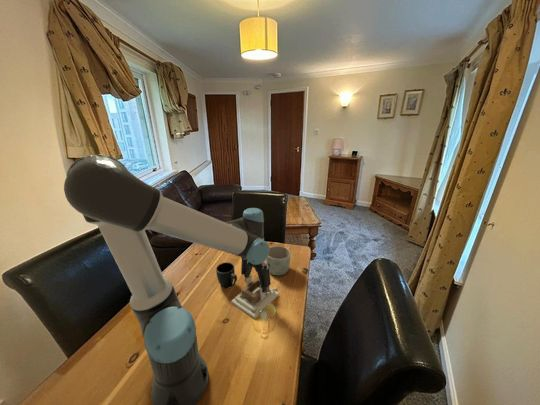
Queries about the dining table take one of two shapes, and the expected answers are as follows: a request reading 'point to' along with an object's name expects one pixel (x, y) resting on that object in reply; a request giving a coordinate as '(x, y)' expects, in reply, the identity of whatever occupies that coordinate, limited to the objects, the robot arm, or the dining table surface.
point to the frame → (251, 287)
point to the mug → (226, 275)
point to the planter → (278, 260)
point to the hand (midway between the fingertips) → (255, 293)
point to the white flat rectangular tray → (258, 306)
